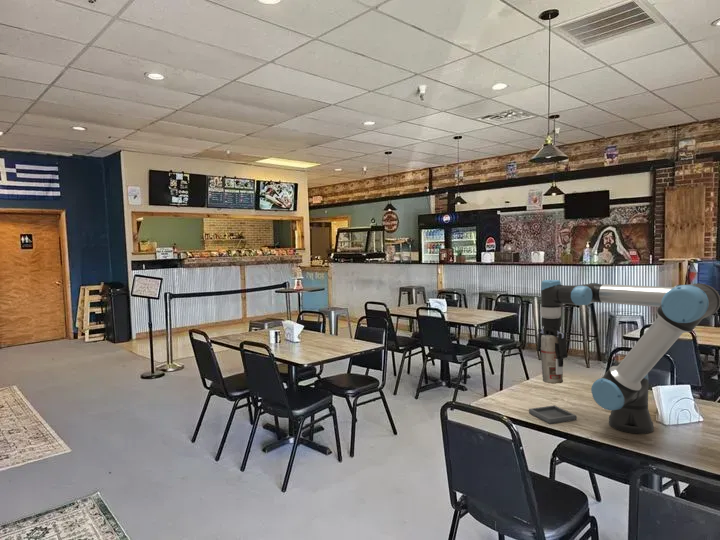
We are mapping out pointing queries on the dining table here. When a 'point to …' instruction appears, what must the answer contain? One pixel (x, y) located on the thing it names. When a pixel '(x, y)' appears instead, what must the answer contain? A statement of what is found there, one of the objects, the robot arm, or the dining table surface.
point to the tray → (552, 414)
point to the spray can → (549, 360)
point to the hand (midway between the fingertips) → (551, 371)
